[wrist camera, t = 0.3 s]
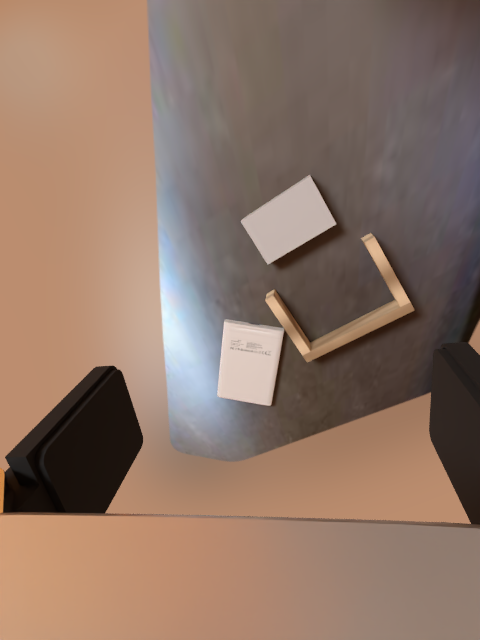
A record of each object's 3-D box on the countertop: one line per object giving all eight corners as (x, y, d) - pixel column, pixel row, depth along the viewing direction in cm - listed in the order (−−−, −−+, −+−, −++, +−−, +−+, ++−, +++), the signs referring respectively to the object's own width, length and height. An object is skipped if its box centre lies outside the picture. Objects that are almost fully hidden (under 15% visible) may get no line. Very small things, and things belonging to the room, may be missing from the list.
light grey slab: (243, 217, 43) (240, 221, 41) (309, 174, 40) (310, 175, 38) (269, 259, 45) (267, 264, 43) (334, 220, 42) (336, 224, 40)
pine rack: (266, 293, 46) (265, 300, 44) (370, 232, 42) (374, 236, 39) (306, 353, 49) (307, 362, 47) (408, 302, 44) (414, 310, 42)
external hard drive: (219, 390, 55) (225, 317, 49) (272, 399, 54) (284, 326, 49) (216, 396, 53) (223, 322, 48) (271, 406, 53) (284, 331, 47)
